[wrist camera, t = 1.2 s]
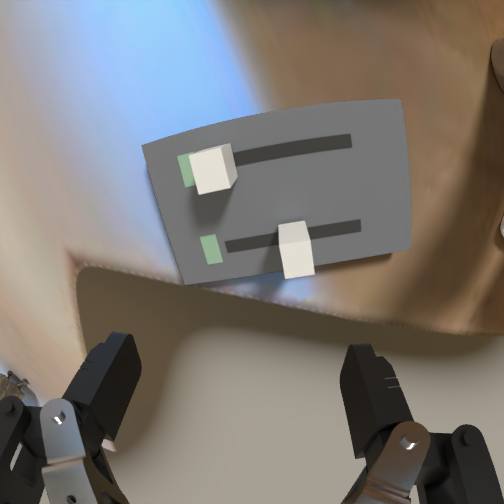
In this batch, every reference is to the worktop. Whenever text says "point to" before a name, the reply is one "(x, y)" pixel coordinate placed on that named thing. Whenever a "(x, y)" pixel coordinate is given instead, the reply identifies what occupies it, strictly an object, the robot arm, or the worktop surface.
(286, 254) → the block
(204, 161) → the block
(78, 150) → the worktop surface
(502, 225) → the cookie jar
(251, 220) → the slider control panel
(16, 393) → the tabletop clock
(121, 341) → the robot arm
